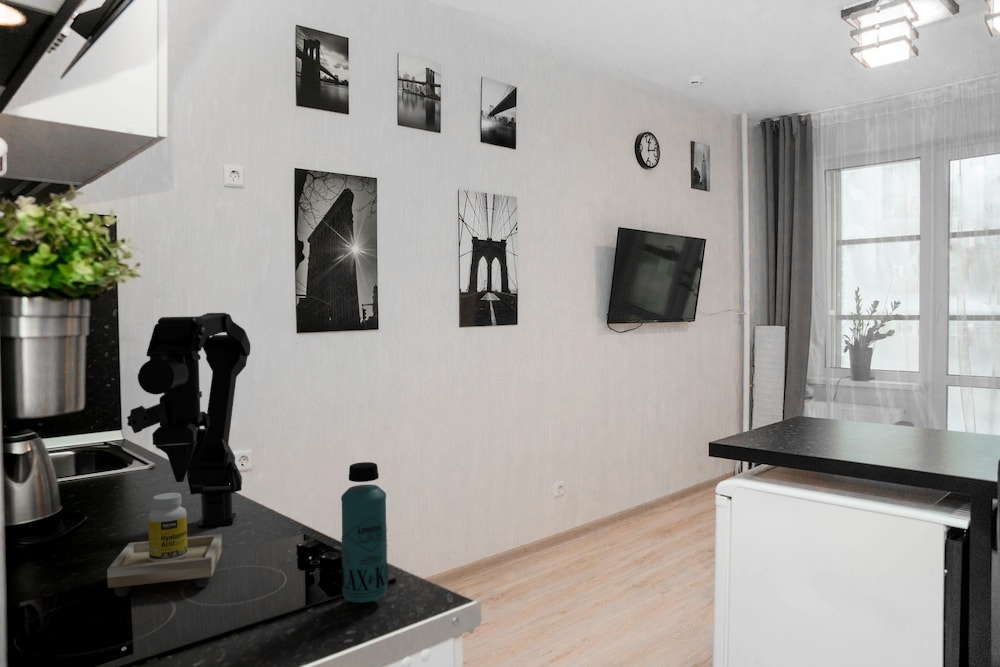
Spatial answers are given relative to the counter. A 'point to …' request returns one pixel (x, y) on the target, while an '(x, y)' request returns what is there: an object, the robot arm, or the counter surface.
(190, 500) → the counter surface
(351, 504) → the beverage bottle
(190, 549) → the shallow square tray
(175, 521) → the supplement bottle
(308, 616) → the counter surface
